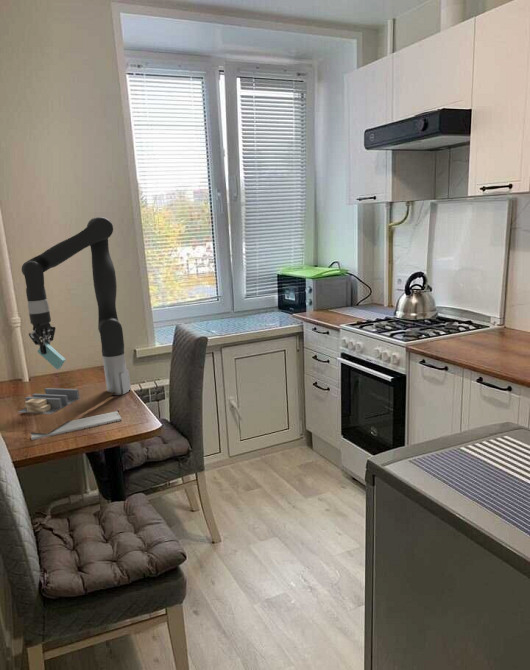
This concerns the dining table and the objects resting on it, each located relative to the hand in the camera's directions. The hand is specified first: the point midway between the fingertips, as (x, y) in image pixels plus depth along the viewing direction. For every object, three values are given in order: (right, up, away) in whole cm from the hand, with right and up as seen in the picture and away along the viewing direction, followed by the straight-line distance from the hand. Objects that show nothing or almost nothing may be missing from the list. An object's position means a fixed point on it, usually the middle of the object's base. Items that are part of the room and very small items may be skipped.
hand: (46, 353), depth 205 cm
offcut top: (-2, -21, -4) cm, 21 cm away
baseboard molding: (+19, -27, -17) cm, 37 cm away
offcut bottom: (-1, -23, -4) cm, 23 cm away
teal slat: (+7, -5, -1) cm, 8 cm away
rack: (+1, -23, +3) cm, 23 cm away
